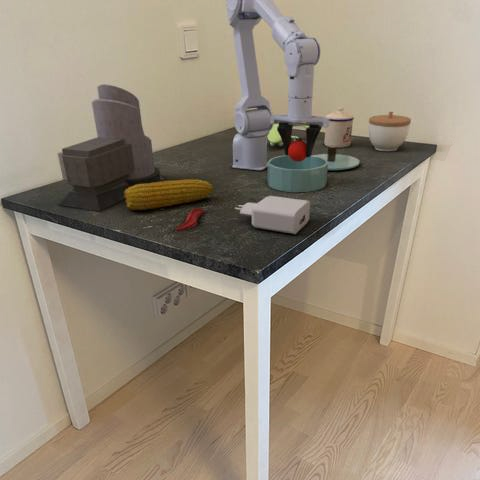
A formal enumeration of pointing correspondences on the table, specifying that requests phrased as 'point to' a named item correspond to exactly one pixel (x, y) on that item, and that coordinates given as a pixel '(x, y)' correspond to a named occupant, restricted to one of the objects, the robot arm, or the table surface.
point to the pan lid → (338, 160)
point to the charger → (278, 214)
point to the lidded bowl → (388, 131)
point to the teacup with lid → (339, 129)
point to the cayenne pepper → (191, 219)
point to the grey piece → (109, 154)
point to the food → (166, 193)
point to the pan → (297, 174)
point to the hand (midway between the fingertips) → (297, 155)
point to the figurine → (275, 136)
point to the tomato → (297, 150)
